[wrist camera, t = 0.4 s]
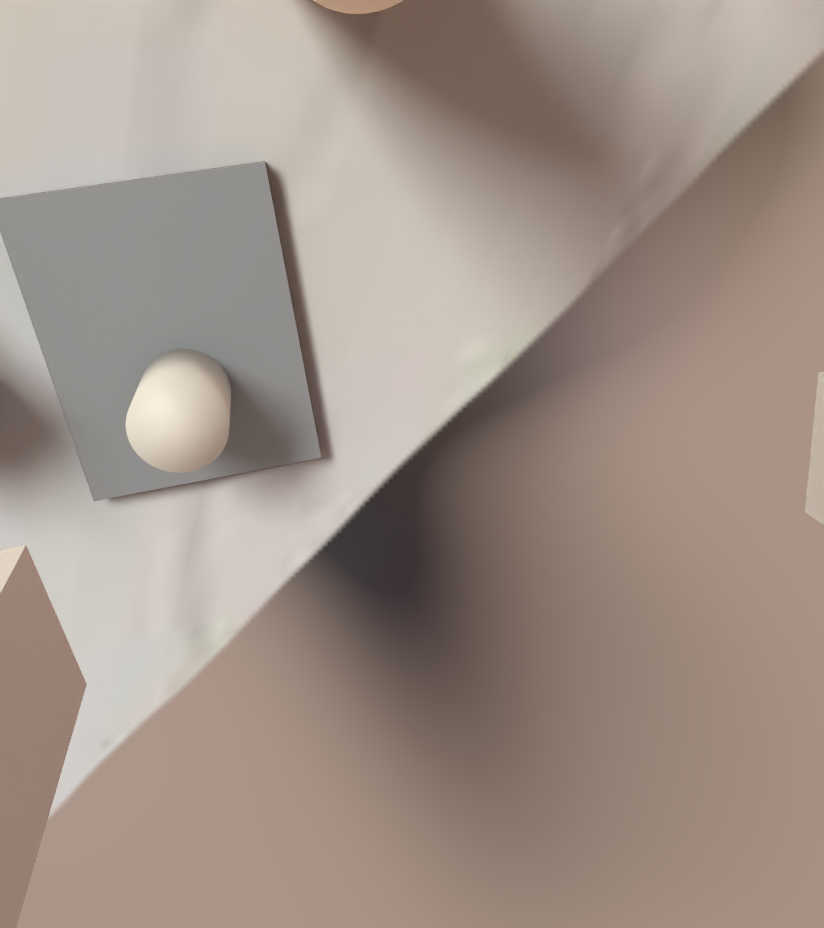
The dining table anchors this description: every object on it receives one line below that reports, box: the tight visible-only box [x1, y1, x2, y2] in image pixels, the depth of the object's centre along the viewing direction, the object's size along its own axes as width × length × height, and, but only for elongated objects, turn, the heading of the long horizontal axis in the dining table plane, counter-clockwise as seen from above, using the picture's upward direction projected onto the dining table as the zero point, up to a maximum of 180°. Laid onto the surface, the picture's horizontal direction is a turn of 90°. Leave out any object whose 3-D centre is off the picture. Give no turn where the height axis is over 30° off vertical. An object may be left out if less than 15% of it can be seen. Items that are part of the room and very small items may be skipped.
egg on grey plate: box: [0, 161, 321, 501], centre depth 35 cm, size 15×12×6 cm
